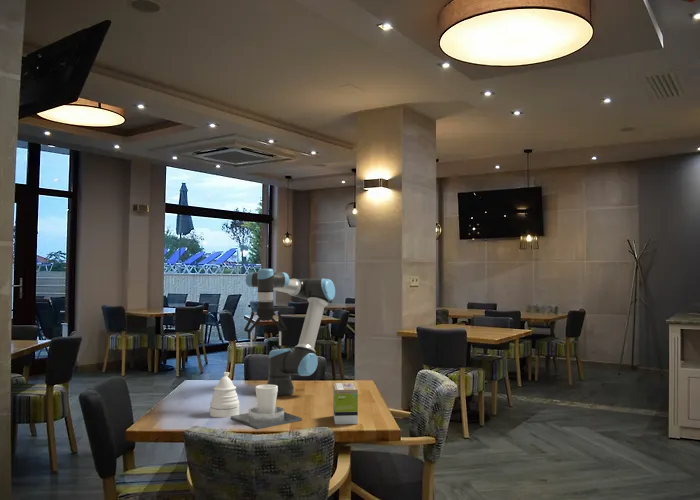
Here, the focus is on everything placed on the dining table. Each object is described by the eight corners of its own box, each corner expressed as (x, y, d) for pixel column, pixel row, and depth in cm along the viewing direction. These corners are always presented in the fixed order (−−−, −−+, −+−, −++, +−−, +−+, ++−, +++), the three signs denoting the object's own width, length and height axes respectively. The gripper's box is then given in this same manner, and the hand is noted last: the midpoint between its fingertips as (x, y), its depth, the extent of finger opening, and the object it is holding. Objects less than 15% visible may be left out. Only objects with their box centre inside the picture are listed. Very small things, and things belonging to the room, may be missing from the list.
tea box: (332, 415, 253) (332, 382, 254) (355, 415, 254) (355, 382, 254) (334, 424, 238) (334, 389, 239) (358, 424, 239) (358, 388, 239)
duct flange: (273, 410, 261) (273, 402, 261) (301, 420, 244) (302, 410, 244) (230, 418, 246) (230, 409, 246) (257, 428, 230) (258, 418, 230)
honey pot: (214, 410, 261) (215, 370, 262) (242, 410, 261) (242, 371, 261) (206, 417, 248) (207, 375, 249) (235, 417, 248) (236, 376, 249)
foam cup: (281, 417, 246) (282, 386, 246) (265, 420, 239) (265, 389, 239) (267, 413, 252) (267, 383, 253) (250, 417, 245) (251, 386, 246)
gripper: (239, 302, 264) (239, 348, 264) (292, 301, 270) (293, 345, 269) (238, 301, 271) (238, 345, 271) (290, 299, 277) (290, 343, 277)
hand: (265, 345), depth 270 cm, fingers open, 13 cm apart
